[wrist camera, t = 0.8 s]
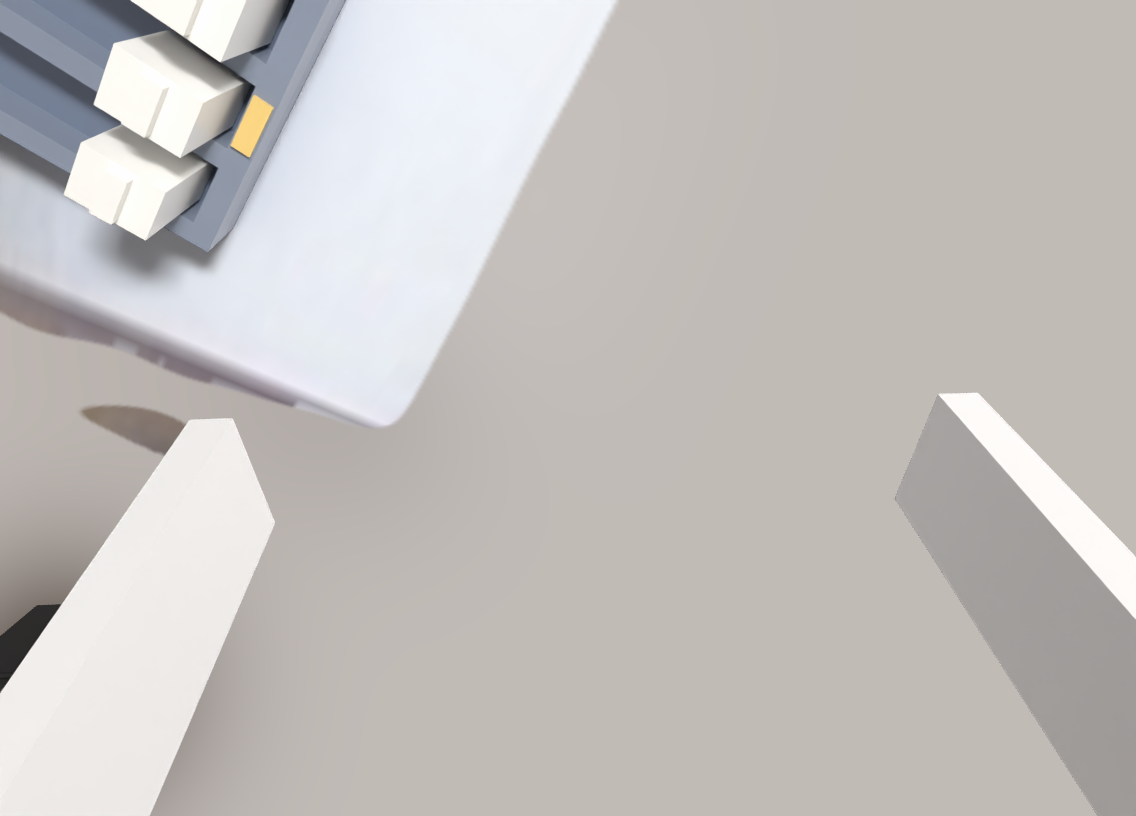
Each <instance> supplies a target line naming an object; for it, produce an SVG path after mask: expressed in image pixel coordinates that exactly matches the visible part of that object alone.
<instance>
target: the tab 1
mask: <svg viewBox="0 0 1136 816" xmlns="http://www.w3.org/2000/svg"><path fill="white" fill-rule="evenodd" d="M131 1H132V2H134V3H135V4H137V5H138V6H139V7H141V8H142V9H144V10H145V11H147V12H148V13H150V14H151V15H153V16H154V17H155V18H157V19H158V20H160V21H161V22H163V23H164V24H166V25H167V26H168V27H170V28H171V29H173V30H174V31H176V32H177V33H179V34H180V35H181V36H183V37H184V38H186V39H187V40H189V41H190V42H192V43H193V44H194V45H196V46H197V47H199V48H200V49H202V50H203V51H205V52H206V53H207V54H209V55H210V56H212V57H213V58H215V59H216V60H218V61H219V62H223V61H225V60H228V59H230V58H233V57H236V56H238V55H241V54H243V53H246V52H249V51H251V50H254V49H256V48H259V47H262V46H264V45H267V44H269V43H271V41H272V38H273V36H274V34H275V32H276V29H277V27H278V25H279V23H280V21H281V18H282V16H283V14H284V12H285V10H286V7H287V5H288V3H289V1H290V0H131Z"/></svg>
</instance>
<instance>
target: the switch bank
mask: <svg viewBox="0 0 1136 816" xmlns="http://www.w3.org/2000/svg"><path fill="white" fill-rule="evenodd" d="M344 2H345V0H290V1H289V3H288V5H287V7H286V10H285V12H284V14H283V16H282V18H281V21H280V23H279V25H278V27H277V29H276V32H275V34H274V36H273V38H272V41H271V43H269V44H267V45H264V46H262V47H259V48H256V49H254V50H251V51H249V52H246V53H243V54H241V55H238V56H236V57H233V58H230V59H228V60H225V61H223V62H221V63H222V64H224V65H225V66H227V67H228V68H230V69H231V70H233V71H234V72H235V73H237V74H238V75H240V76H241V77H243V78H244V79H246V80H247V81H248V82H250V83H251V84H252V85H251V87H250V89H249V91H248V94H247V96H246V98H245V100H244V102H243V105H242V107H241V109H240V111H239V113H238V116H237V118H236V120H235V122H234V125H233V126H232V127H230V128H229V129H227V130H226V131H224V132H222V133H221V134H219V135H217V136H216V137H214V138H212V139H211V140H209V141H207V142H206V143H204V144H203V145H201V146H199V147H198V148H196V149H194V150H193V151H192V152H193V153H195V154H197V155H198V156H200V157H201V158H203V159H205V160H206V161H208V162H209V163H211V164H213V165H214V166H215V167H214V169H213V171H212V173H211V175H210V178H209V180H208V182H207V184H206V186H205V189H204V191H203V193H202V195H201V197H200V199H199V200H198V201H197V202H195V203H194V204H193V205H191V206H190V207H189V208H187V209H186V210H185V211H183V212H182V213H181V214H180V215H178V216H177V217H176V218H174V219H173V220H172V221H170V222H169V223H168V224H167V225H165V226H164V228H166V229H168V230H169V231H171V232H173V233H175V234H176V235H178V236H180V237H182V238H183V239H185V240H187V241H189V242H190V243H192V244H194V245H196V246H197V247H199V248H201V249H203V250H204V251H206V252H209V251H210V250H211V249H212V248H213V247H214V246H215V245H216V244H217V243H218V242H219V241H220V240H221V239H222V238H223V237H225V236H226V235H227V234H228V233H229V232H230V231H231V230H232V229H233V227H234V225H235V223H236V221H237V219H238V217H239V215H240V213H241V211H242V209H243V207H244V205H245V203H246V201H247V199H248V197H249V195H250V193H251V191H252V189H253V187H254V185H255V183H256V181H257V179H258V177H259V174H260V172H261V170H262V168H263V166H264V164H265V162H266V160H267V158H268V156H269V154H270V152H271V150H272V148H273V146H274V144H275V142H276V140H277V138H278V136H279V134H280V132H281V130H282V128H283V126H284V124H285V122H286V120H287V118H288V116H289V114H290V112H291V110H292V108H293V106H294V104H295V102H296V100H297V98H298V96H299V94H300V91H301V89H302V87H303V85H304V83H305V81H306V79H307V77H308V75H309V73H310V71H311V69H312V67H313V65H314V63H315V61H316V59H317V57H318V55H319V53H320V51H321V49H322V47H323V45H324V43H325V41H326V39H327V37H328V35H329V33H330V31H331V29H332V27H333V25H334V23H335V21H336V19H337V17H338V15H339V13H340V11H341V9H342V6H343V4H344ZM170 29H171V28H170V27H168V26H167V25H166V24H164V23H163V22H161V21H160V20H158V19H157V18H155V17H154V16H153V15H151V14H150V13H148V12H147V11H145V10H144V9H142V8H141V7H139V6H138V5H137V4H135V3H134V2H132V1H131V0H0V134H1V135H3V136H5V137H7V138H8V139H10V140H12V141H14V142H15V143H17V144H19V145H21V146H22V147H24V148H26V149H28V150H29V151H31V152H33V153H35V154H36V155H38V156H40V157H42V158H43V159H45V160H47V161H49V162H50V163H52V164H54V165H56V166H57V167H59V168H61V169H63V170H64V171H66V172H68V173H70V174H71V171H72V168H73V165H74V162H75V159H76V156H77V153H78V150H79V147H80V144H81V142H83V141H85V140H87V139H90V138H92V137H94V136H96V135H99V134H101V133H103V132H105V131H108V130H110V129H112V128H114V127H117V126H119V125H121V121H119V120H118V119H116V118H114V117H113V116H111V115H109V114H108V113H106V112H105V111H103V110H101V109H100V108H98V107H96V106H95V105H93V104H94V101H95V98H96V95H97V92H98V89H99V86H100V83H101V80H102V77H103V74H104V71H105V68H106V65H107V62H108V59H109V56H110V53H111V50H112V47H113V44H114V43H117V42H121V41H125V40H129V39H133V38H138V37H142V36H146V35H150V34H154V33H158V32H162V31H166V30H170Z"/></svg>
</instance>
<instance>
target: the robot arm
mask: <svg viewBox="0 0 1136 816" xmlns="http://www.w3.org/2000/svg"><path fill="white" fill-rule="evenodd" d="M895 500H896V502H897V503H898V504H899V506H900V508H901V509H902V511H903V512H904V514H905V516H906V517H907V519H908V520H909V522H910V523H911V525H912V526H913V528H914V530H915V531H916V533H917V534H918V536H919V538H920V539H921V541H922V542H923V544H924V545H925V547H926V548H927V550H928V552H929V553H930V555H931V556H932V558H933V559H934V561H935V562H936V564H937V566H938V567H939V569H940V570H941V572H942V573H943V575H944V577H945V578H946V579H947V581H948V583H949V584H950V586H951V588H952V589H953V591H954V592H955V594H956V595H957V597H958V598H959V600H960V602H961V603H962V605H963V606H964V608H965V609H966V611H967V613H968V614H969V616H970V617H971V619H972V620H973V622H974V623H975V625H976V627H977V628H978V630H979V631H980V633H981V634H982V636H983V638H984V639H985V641H986V642H987V644H988V645H989V647H990V649H991V650H992V652H993V653H994V655H995V656H996V658H997V659H998V661H999V663H1000V664H1001V666H1002V667H1003V669H1004V670H1005V672H1006V674H1007V675H1008V677H1009V678H1010V679H1011V681H1012V683H1013V684H1014V686H1015V688H1016V689H1017V691H1018V692H1019V694H1020V695H1021V697H1022V699H1023V700H1024V702H1025V703H1026V705H1027V706H1028V708H1029V709H1030V711H1031V713H1032V714H1033V716H1034V717H1035V719H1036V720H1037V722H1038V724H1039V725H1040V727H1041V728H1042V730H1043V731H1044V733H1045V734H1046V736H1047V737H1048V739H1049V741H1050V742H1051V744H1052V745H1053V747H1054V749H1055V750H1056V752H1057V753H1058V755H1059V756H1060V758H1061V760H1062V761H1063V763H1064V764H1065V766H1066V767H1067V769H1068V770H1069V772H1070V773H1071V775H1072V777H1073V778H1074V780H1075V781H1076V783H1077V784H1078V786H1079V787H1080V789H1081V791H1082V792H1083V794H1084V795H1085V797H1086V799H1087V800H1088V802H1089V803H1090V805H1091V806H1092V808H1093V809H1094V811H1095V813H1096V814H1097V816H1136V556H1134V554H1132V553H1131V551H1130V550H1129V549H1128V548H1127V547H1126V546H1125V545H1124V544H1123V543H1122V542H1121V541H1120V540H1119V539H1118V538H1117V537H1116V536H1115V535H1114V534H1113V533H1112V532H1111V531H1110V529H1108V527H1107V526H1106V525H1105V524H1104V523H1103V522H1102V521H1101V520H1100V519H1099V518H1098V517H1097V516H1096V515H1095V514H1094V513H1093V512H1092V511H1091V510H1090V509H1089V508H1088V507H1087V506H1086V505H1085V504H1084V503H1083V502H1082V500H1081V499H1080V498H1079V497H1078V496H1077V495H1076V494H1075V493H1074V492H1073V491H1072V490H1071V489H1070V488H1069V487H1068V486H1067V485H1066V484H1065V483H1064V482H1063V481H1062V480H1061V479H1060V478H1059V477H1058V476H1057V475H1056V474H1055V472H1054V471H1053V470H1052V469H1051V468H1050V467H1049V466H1048V465H1047V464H1046V463H1045V462H1044V461H1043V460H1042V459H1041V458H1040V457H1039V456H1038V455H1037V454H1036V453H1035V452H1034V451H1033V450H1032V449H1031V448H1030V447H1029V446H1028V445H1027V444H1026V442H1025V441H1024V440H1023V439H1022V438H1021V437H1020V436H1019V435H1018V434H1017V433H1016V432H1015V431H1014V430H1013V429H1012V428H1011V427H1010V426H1009V425H1008V424H1007V423H1006V422H1005V421H1004V420H1003V419H1002V418H1001V416H1000V415H999V414H998V413H997V412H996V411H995V410H994V409H993V408H992V407H991V406H990V405H989V404H988V403H987V402H986V401H985V400H984V399H983V398H982V397H981V396H980V395H979V394H978V393H956V394H938V395H937V398H936V400H935V403H934V405H933V407H932V410H931V412H930V415H929V417H928V419H927V422H926V424H925V427H924V429H923V431H922V434H921V436H920V439H919V441H918V443H917V446H916V448H915V451H914V453H913V455H912V458H911V460H910V462H909V465H908V467H907V470H906V472H905V474H904V477H903V479H902V482H901V484H900V486H899V489H898V491H897V494H896V496H895ZM274 525H275V521H274V519H273V516H272V514H271V511H270V509H269V506H268V504H267V502H266V499H265V497H264V494H263V492H262V489H261V487H260V484H259V482H258V480H257V477H256V475H255V472H254V470H253V467H252V465H251V462H250V460H249V457H248V455H247V453H246V450H245V447H244V445H243V443H242V440H241V438H240V435H239V433H238V430H237V428H236V425H235V423H234V420H233V418H228V419H227V418H226V419H199V420H189V422H188V423H187V425H186V426H185V427H184V429H183V430H182V432H181V433H180V435H179V436H178V438H177V439H176V440H175V442H174V443H173V445H172V446H171V448H170V449H169V450H168V452H167V453H166V455H165V456H164V458H163V459H162V461H161V462H160V464H159V465H158V466H157V468H156V469H155V471H154V472H153V474H152V475H151V476H150V478H149V479H148V481H147V483H146V484H145V485H144V487H143V488H142V490H141V491H140V492H139V494H138V495H137V497H136V498H135V500H134V501H133V502H132V504H131V505H130V507H129V508H128V510H127V511H126V513H125V514H124V515H123V517H122V518H121V520H120V521H119V523H118V524H117V526H116V527H115V528H114V530H113V531H112V533H111V534H110V536H109V537H108V538H107V540H106V541H105V543H104V544H103V546H102V547H101V549H100V550H99V551H98V553H97V554H96V556H95V557H94V559H93V560H92V561H91V563H90V565H89V566H88V567H87V569H86V570H85V572H84V573H83V574H82V576H81V577H80V579H79V580H78V582H77V583H76V585H75V586H74V587H73V589H72V591H71V592H70V593H69V595H68V596H67V598H66V599H65V601H64V602H63V603H62V604H58V605H37V606H36V607H34V608H33V609H32V610H31V611H30V612H29V613H27V614H26V615H25V616H24V617H23V618H21V619H20V620H19V621H18V622H17V623H15V624H14V625H13V626H12V627H11V628H9V629H8V630H7V631H6V632H5V633H4V634H2V635H1V636H0V816H150V813H151V811H152V809H153V807H154V804H155V802H156V800H157V797H158V795H159V793H160V790H161V788H162V786H163V783H164V781H165V779H166V776H167V774H168V772H169V769H170V767H171V764H172V762H173V760H174V758H175V755H176V753H177V751H178V748H179V746H180V744H181V741H182V739H183V737H184V734H185V732H186V730H187V727H188V725H189V723H190V720H191V718H192V716H193V713H194V711H195V709H196V706H197V704H198V701H199V699H200V697H201V695H202V692H203V690H204V688H205V686H206V683H207V681H208V679H209V676H210V674H211V672H212V669H213V667H214V665H215V662H216V660H217V658H218V655H219V653H220V650H221V648H222V646H223V644H224V641H225V639H226V637H227V634H228V632H229V630H230V627H231V625H232V623H233V620H234V618H235V615H236V613H237V611H238V609H239V606H240V604H241V602H242V599H243V597H244V594H245V592H246V590H247V588H248V585H249V583H250V581H251V578H252V576H253V574H254V571H255V569H256V567H257V564H258V562H259V560H260V557H261V555H262V553H263V550H264V548H265V546H266V543H267V541H268V539H269V536H270V534H271V531H272V529H273V527H274Z"/></svg>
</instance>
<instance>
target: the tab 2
mask: <svg viewBox="0 0 1136 816" xmlns="http://www.w3.org/2000/svg"><path fill="white" fill-rule="evenodd" d="M251 85H252V84H251V83H250V82H248V81H247V80H246V79H244V78H243V77H241V76H240V75H238V74H237V73H235V72H234V71H233V70H231V69H230V68H228V67H227V66H225V65H224V64H222V63H221V62H219V61H218V60H216V59H215V58H213V57H212V56H210V55H209V54H207V53H206V52H205V51H203V50H202V49H200V48H199V47H197V46H196V45H194V44H193V43H192V42H190V41H189V40H187V39H186V38H184V37H183V36H181V35H180V34H179V33H177V32H176V31H174V30H173V29H170V30H166V31H162V32H158V33H154V34H150V35H146V36H142V37H138V38H133V39H129V40H125V41H121V42H117V43H114V44H113V47H112V50H111V53H110V56H109V59H108V62H107V65H106V68H105V71H104V74H103V77H102V80H101V83H100V86H99V89H98V92H97V95H96V98H95V101H94V104H93V105H95V106H96V107H98V108H100V109H101V110H103V111H105V112H106V113H108V114H109V115H111V116H113V117H114V118H116V119H118V120H119V121H121V124H122V125H124V126H126V127H127V128H129V129H131V130H132V131H134V132H135V133H137V134H139V135H140V136H142V137H144V138H145V137H147V138H148V139H150V140H152V141H153V142H155V143H156V144H158V145H160V146H161V147H163V148H164V149H166V150H168V151H169V152H171V153H173V154H174V155H176V156H177V157H179V158H181V157H183V156H185V155H186V154H188V153H189V152H191V151H193V150H194V149H196V148H198V147H199V146H201V145H203V144H204V143H206V142H207V141H209V140H211V139H212V138H214V137H216V136H217V135H219V134H221V133H222V132H224V131H226V130H227V129H229V128H230V127H232V126H233V125H234V122H235V120H236V118H237V116H238V113H239V111H240V109H241V107H242V105H243V102H244V100H245V98H246V96H247V94H248V91H249V89H250V87H251Z"/></svg>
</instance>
